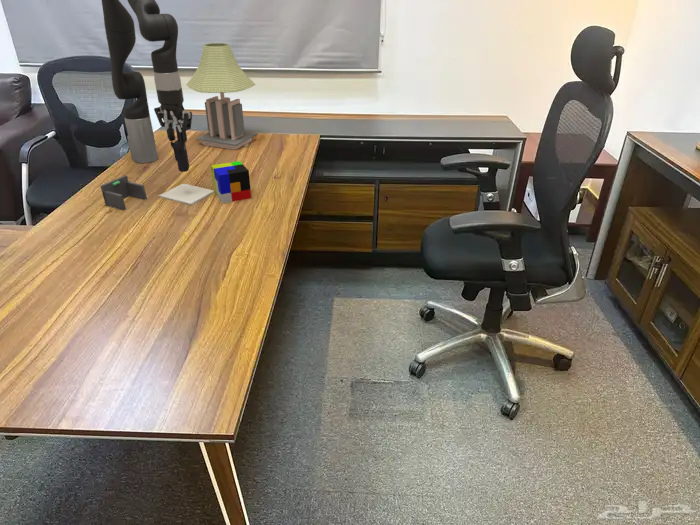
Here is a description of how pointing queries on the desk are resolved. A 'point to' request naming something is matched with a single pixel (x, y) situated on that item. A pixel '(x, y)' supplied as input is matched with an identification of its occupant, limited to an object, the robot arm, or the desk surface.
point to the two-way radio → (180, 154)
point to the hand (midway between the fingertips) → (178, 141)
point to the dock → (121, 192)
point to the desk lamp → (222, 96)
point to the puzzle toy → (231, 182)
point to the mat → (186, 194)
